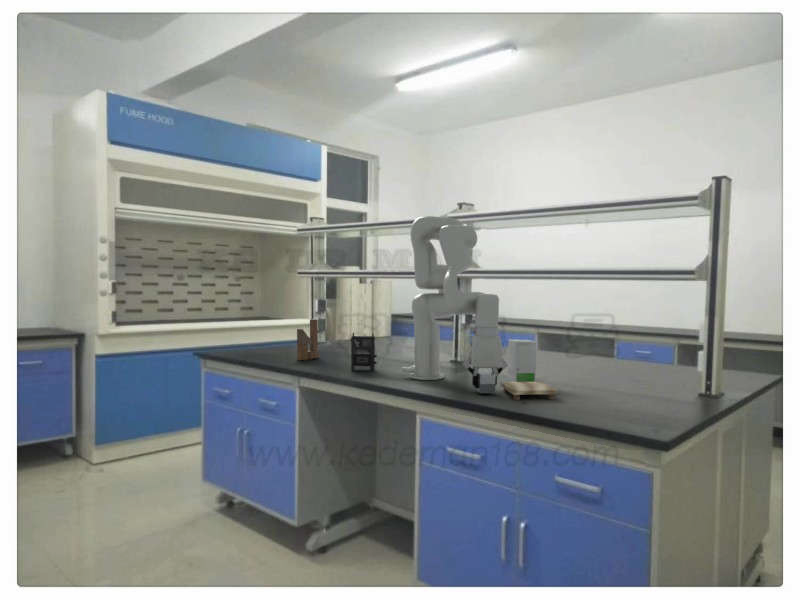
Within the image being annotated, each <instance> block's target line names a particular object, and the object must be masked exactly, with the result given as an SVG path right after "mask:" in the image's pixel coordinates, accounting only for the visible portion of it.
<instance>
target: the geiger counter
mask: <svg viewBox="0 0 800 600" xmlns="http://www.w3.org/2000/svg"><path fill="white" fill-rule="evenodd" d="M374 335H375V334H374V332H372V335H371V336H370V335H369V336H368V335H367V336H366V335H362V336H361V335H355V332H352V336H351V338H350V344H351V345H350V347H351V348H350V351H351V354H350V355H351V357H350V360H351V361H350V363H351V366H350V371H351V370H352V372H374V371H375V370H376V367H375V366H376V365H377V361H376V358H377V354H376V348H375V347H376V345H375V344H376V337H375V336H374Z"/></svg>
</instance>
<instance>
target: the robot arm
mask: <svg viewBox="0 0 800 600" xmlns="http://www.w3.org/2000/svg"><path fill="white" fill-rule="evenodd" d="M431 240H433V241H439V245H440V248H441V251H442V255H443V257H444V261H445V264H438V259H437V250H436V248H435V246H434V244H433V243H432V242H431ZM410 241H411V245H412V249H413V265H414V267H413V268H414V282H415V286H416V287H417V288H418V289H420V290H427V291H428V290H431V291H433V290H436V291H437V290H438V291H437V293H435V292H432V293H431V292H429V293H426V292H424V293H420V294H418V295H416V296H415V297H414V298H413V299H412V301H411V309H412V311H411V312H412V316H413V326H414V327H413V328H414V329H413V331H414V332H413V333H414V334H413V335H414V338H413V339H414V346H413V347H414V354H413V355H414V359H413V360H414V361H413V362H414V363H413V364H412V365H410V366H408V367H407V366H401V373H410V375H409V377H410V378H411V379H413V380H419V381H437V380H438V381H439V380H442V379H444V373H441V372H440V366H441V365H440V364H441V363H440V360H441V359H440V357H441V356H440V354H441V353H440V352H441V350H440V347H441V336H440V335H441V332H440V331H441V330H440V327H439V325H438V322H437V321H436V319H447V318H451V317H453V316H454V315H457V316H462V315H463V316H465V315H466V316H467V315H470V316H471V315H474V326H473V327H472V328H470V329H469V332H470V333H471V334H473V335H472V336H471V342H470V346H469V356H468V357H467V358H466V359H465V360H464V362H463V363H462V366H463V368H465V369H466V370H467V371H469V372H470V373H471V375H472V381H471V382H472V383H471V384H472V386H473V388H474V387H475V388H478V376H477V373H478V370H480V369H488V368H489V369H491V372H493V373H494V374H495V375H496V379H495V386H497V385H498V384H497V383H498V376H499V374H501V372H502V371H503V370H505V369H506V368H508V362H506V361H505V359H504V358H503V347H502V339H501V336H499V314H500V313H499V311H500V298H499V296H498V295H497V294H492V293H484V292H481V291H460V289H459V285H458V280H457V278H458V275H459V274H461V273H464V272H466V271H467V270H468V269H469V268H470V267H471V266H472V262H473V261H472V258H471V256H470V253H469V250H471V249H473V248H475V247H476V246H477V243H478V235H477V231H476V230H475V229H474V227H473V226H471V225H469V224H468V223H465V222H463V221H461V220H459V219H456V218H452V217H443V216H436V215H435V216H434V215H428V216H427V215H426V216H425V215H424V216H420V217H417V218H416V219H414V221H413V223H412V224H411V228H410ZM469 364H470V365H471V366H472V367H471V366H470V365H469ZM475 388H474V389H475Z"/></svg>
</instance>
